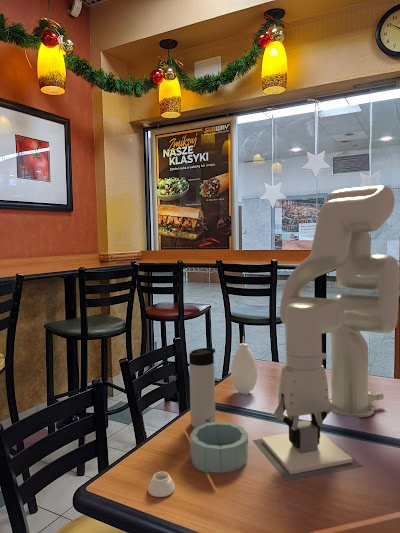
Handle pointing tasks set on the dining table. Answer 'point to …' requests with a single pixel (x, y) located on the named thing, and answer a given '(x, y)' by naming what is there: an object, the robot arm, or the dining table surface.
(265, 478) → the dining table surface
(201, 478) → the dining table surface
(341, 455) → the square lid
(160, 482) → the lidless jar
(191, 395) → the travel mug
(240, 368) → the white pear-shaped vessel
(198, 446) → the bowl
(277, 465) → the mat
